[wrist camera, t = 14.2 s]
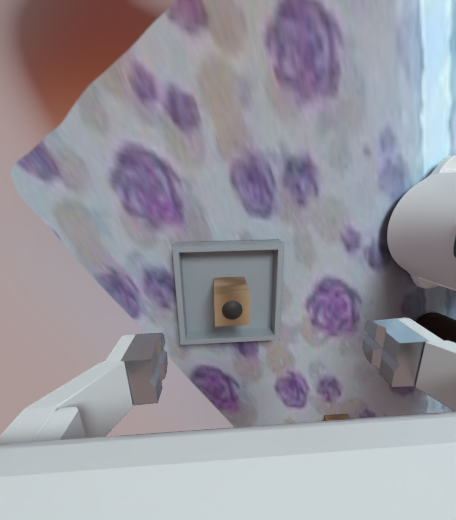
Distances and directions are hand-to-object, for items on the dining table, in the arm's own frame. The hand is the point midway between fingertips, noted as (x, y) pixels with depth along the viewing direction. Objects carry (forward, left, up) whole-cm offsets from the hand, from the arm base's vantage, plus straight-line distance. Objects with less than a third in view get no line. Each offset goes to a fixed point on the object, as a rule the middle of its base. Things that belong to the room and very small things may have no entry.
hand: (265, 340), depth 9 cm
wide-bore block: (0, +9, -25) cm, 26 cm away
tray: (0, +8, -26) cm, 27 cm away
